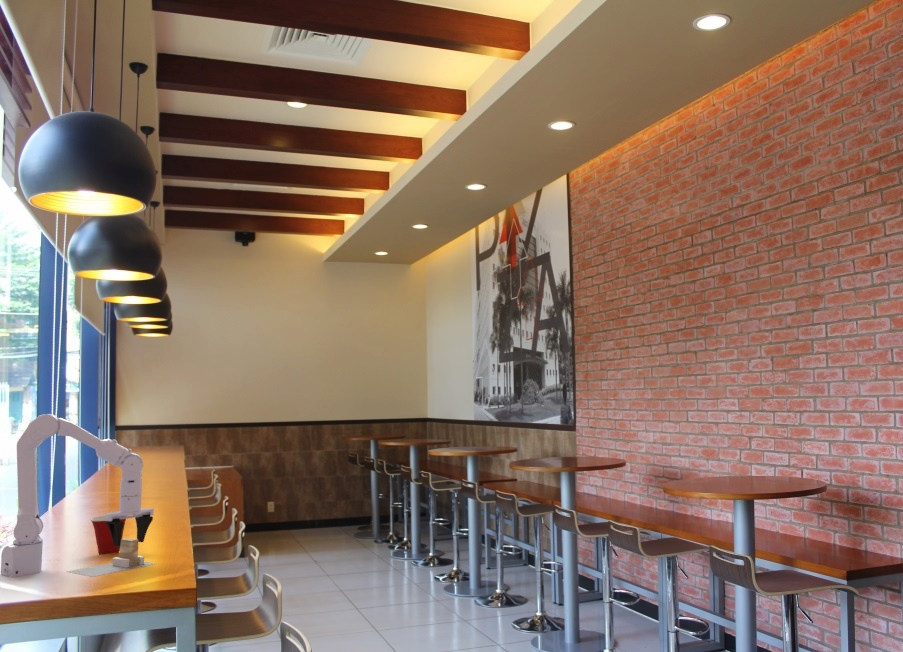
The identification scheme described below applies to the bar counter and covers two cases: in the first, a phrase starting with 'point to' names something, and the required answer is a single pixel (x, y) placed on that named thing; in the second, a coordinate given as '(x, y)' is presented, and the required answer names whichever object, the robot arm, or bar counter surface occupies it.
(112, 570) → the clip board
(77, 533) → the bar counter surface
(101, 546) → the plastic cup
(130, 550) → the wooden block
